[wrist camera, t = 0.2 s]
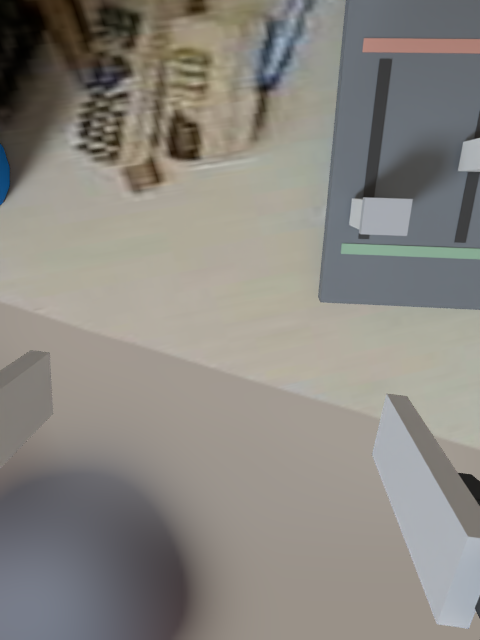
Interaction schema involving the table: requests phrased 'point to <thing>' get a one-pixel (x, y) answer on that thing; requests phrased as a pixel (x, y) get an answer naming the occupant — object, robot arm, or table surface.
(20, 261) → the table surface
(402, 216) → the block
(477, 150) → the block
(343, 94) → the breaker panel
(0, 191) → the thermos
